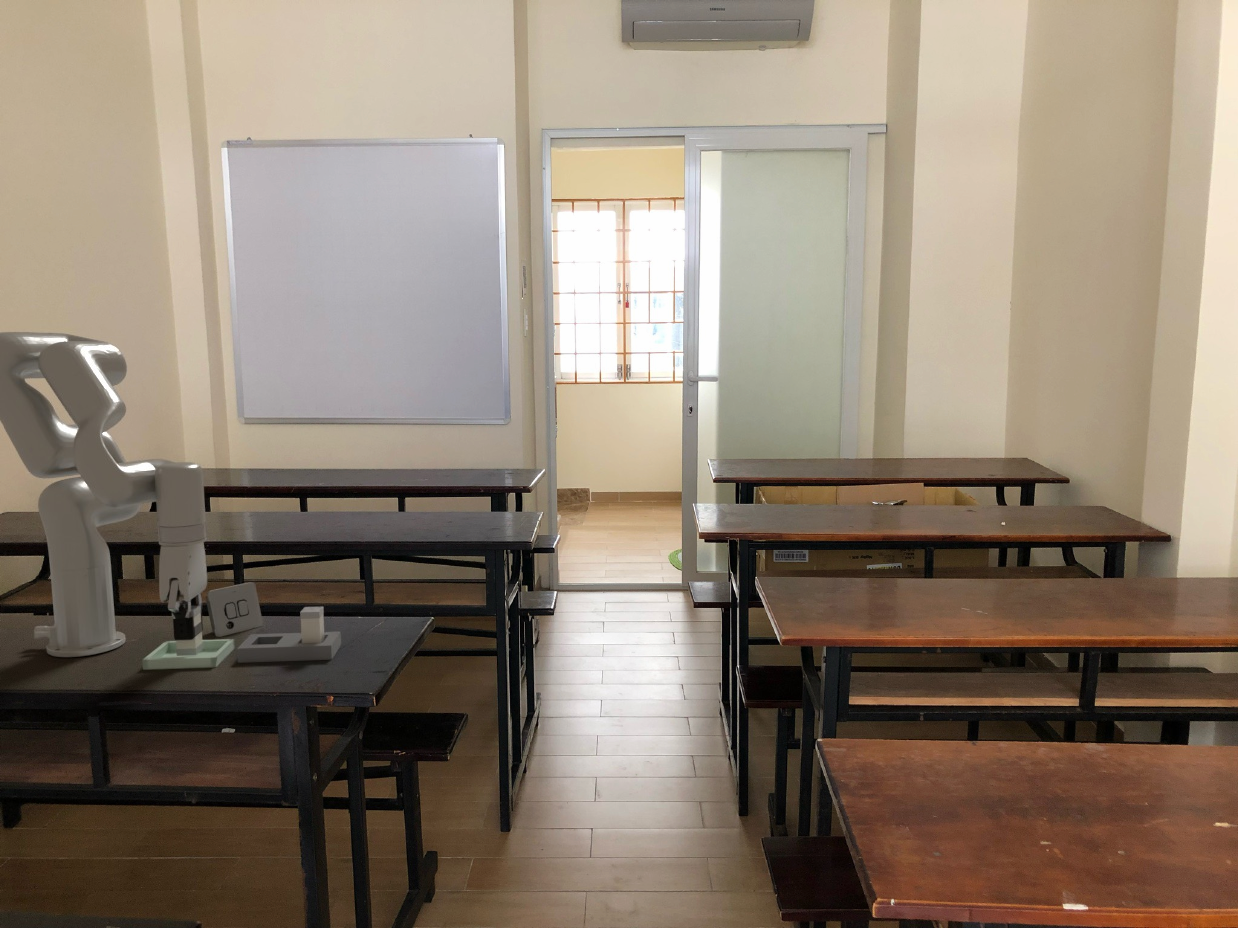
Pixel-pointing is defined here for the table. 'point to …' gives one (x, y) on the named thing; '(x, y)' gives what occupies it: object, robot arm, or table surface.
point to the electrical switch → (234, 609)
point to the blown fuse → (195, 644)
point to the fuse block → (287, 648)
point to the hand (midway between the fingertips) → (188, 634)
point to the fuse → (312, 624)
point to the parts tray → (206, 658)
